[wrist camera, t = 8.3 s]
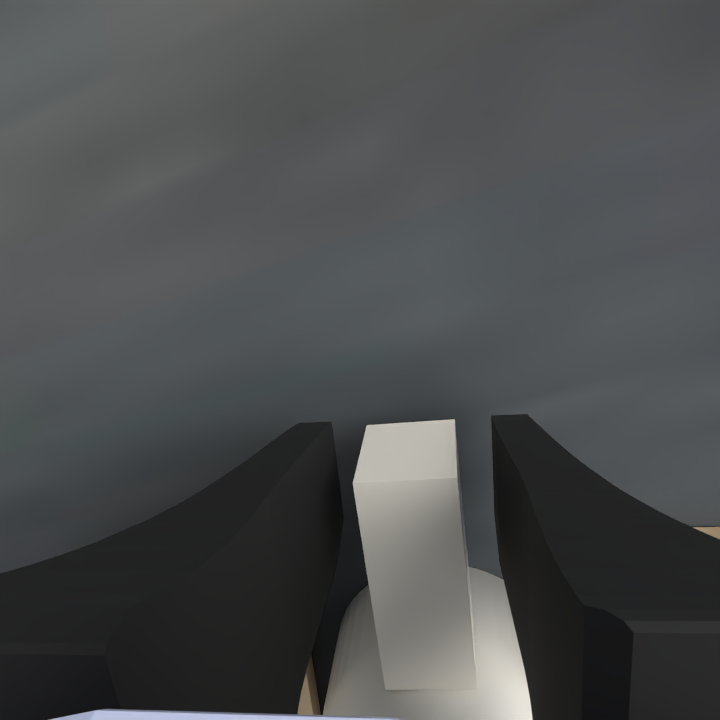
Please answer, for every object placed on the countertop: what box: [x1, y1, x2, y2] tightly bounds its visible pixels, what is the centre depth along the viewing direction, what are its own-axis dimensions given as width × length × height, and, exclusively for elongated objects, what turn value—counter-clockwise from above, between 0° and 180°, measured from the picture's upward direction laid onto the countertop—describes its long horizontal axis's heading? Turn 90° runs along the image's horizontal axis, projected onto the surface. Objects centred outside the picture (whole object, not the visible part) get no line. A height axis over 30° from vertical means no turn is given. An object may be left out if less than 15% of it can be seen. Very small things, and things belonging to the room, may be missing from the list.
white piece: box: [323, 419, 533, 720], centre depth 12 cm, size 10×5×6 cm, turn 8°
